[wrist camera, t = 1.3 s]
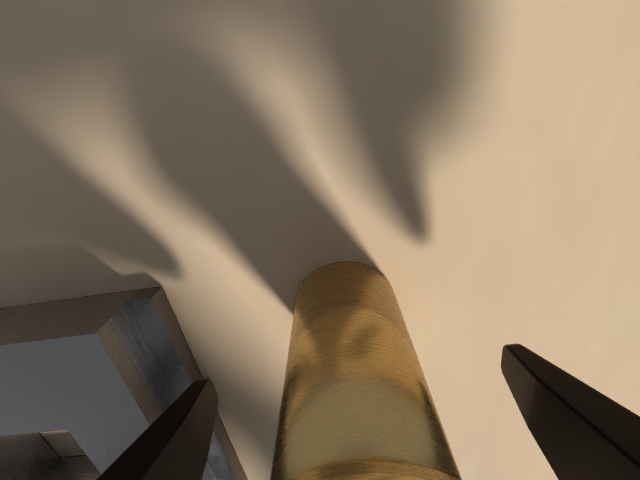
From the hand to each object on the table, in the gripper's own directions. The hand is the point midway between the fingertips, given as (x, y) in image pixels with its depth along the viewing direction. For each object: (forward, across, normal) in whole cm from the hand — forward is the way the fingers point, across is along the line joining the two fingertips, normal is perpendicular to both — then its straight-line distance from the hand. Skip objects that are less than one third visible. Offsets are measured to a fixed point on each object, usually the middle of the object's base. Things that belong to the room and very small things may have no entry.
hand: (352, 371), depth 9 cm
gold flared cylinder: (+3, 0, 0) cm, 3 cm away
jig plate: (+3, +14, +5) cm, 15 cm away
